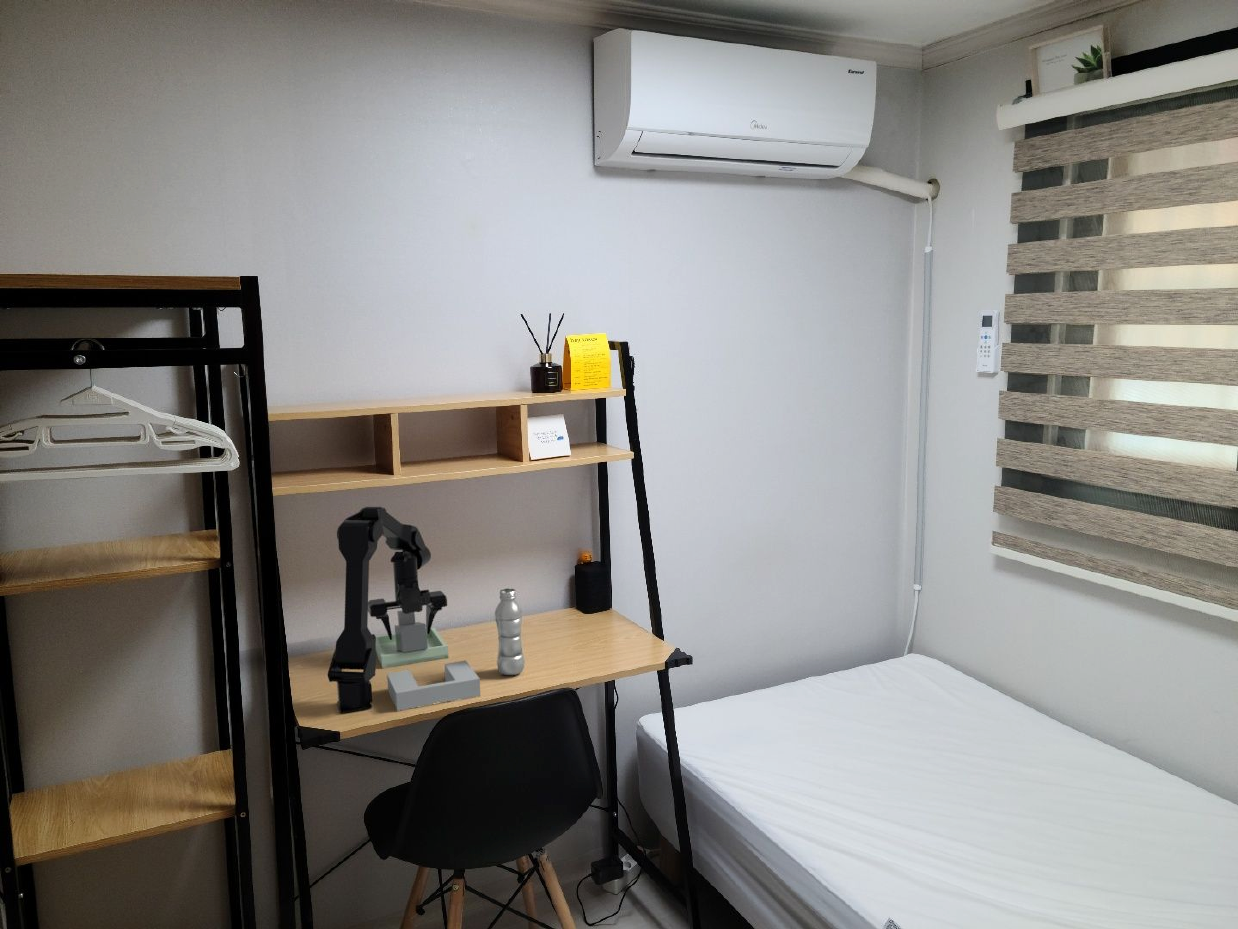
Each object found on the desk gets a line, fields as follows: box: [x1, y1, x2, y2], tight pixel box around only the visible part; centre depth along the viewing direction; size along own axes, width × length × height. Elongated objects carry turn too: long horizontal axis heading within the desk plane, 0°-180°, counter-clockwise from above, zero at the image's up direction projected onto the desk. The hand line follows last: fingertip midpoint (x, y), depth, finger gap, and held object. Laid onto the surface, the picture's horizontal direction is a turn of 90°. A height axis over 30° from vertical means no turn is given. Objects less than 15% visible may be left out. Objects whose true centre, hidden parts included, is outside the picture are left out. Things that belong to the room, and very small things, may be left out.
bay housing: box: [386, 659, 481, 712], centre depth 199 cm, size 18×12×4 cm
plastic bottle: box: [494, 587, 526, 676], centre depth 209 cm, size 6×7×20 cm
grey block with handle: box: [394, 610, 428, 652], centre depth 222 cm, size 6×10×10 cm, turn 23°
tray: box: [375, 627, 450, 669], centre depth 225 cm, size 16×16×3 cm
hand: (409, 636), depth 224 cm, fingers open, 9 cm apart
